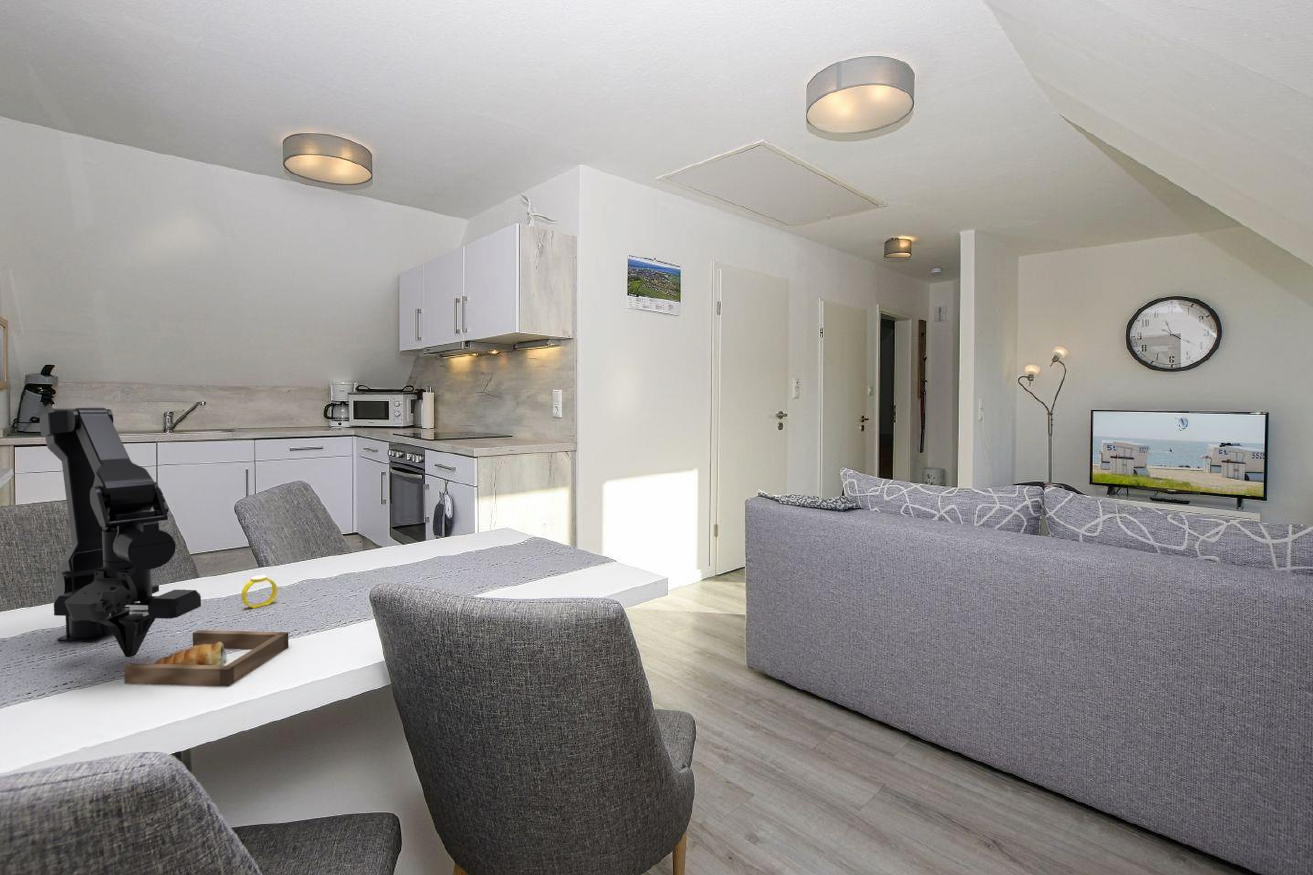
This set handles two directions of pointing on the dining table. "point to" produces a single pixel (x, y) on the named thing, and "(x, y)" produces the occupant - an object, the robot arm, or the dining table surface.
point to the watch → (254, 580)
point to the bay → (212, 675)
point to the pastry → (197, 656)
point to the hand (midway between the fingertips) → (130, 656)
